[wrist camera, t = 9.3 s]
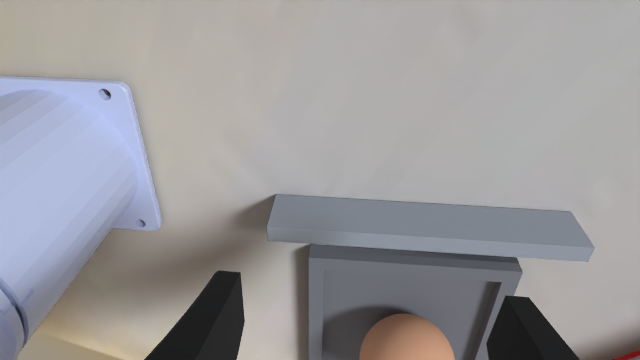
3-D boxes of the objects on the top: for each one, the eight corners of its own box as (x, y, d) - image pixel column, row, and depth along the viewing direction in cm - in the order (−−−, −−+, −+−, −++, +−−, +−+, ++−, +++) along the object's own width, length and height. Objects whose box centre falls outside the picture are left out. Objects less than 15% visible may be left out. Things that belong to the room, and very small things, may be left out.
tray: (310, 364, 29) (308, 378, 28) (310, 244, 23) (308, 257, 22) (473, 378, 28) (476, 392, 27) (516, 257, 22) (522, 271, 21)
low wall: (276, 207, 22) (267, 240, 20) (276, 194, 21) (266, 227, 19) (565, 224, 21) (588, 261, 19) (571, 211, 20) (594, 247, 18)
